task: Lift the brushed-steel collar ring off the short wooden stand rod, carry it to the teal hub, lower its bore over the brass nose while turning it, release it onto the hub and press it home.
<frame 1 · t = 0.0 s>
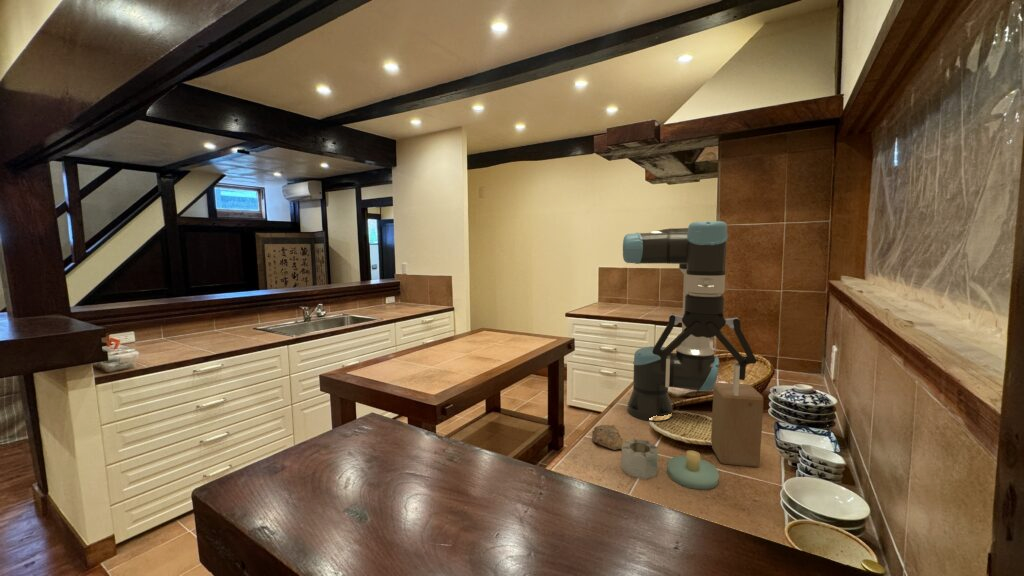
hand: (700, 389, 87), 28 cm above the table, fingers open, 13 cm apart
collar ring: (639, 468, 106), on the table
rock: (608, 444, 120), on the table
hub: (692, 475, 103), on the table
stand: (639, 468, 106), on the table
wooden block: (733, 457, 111), on the table
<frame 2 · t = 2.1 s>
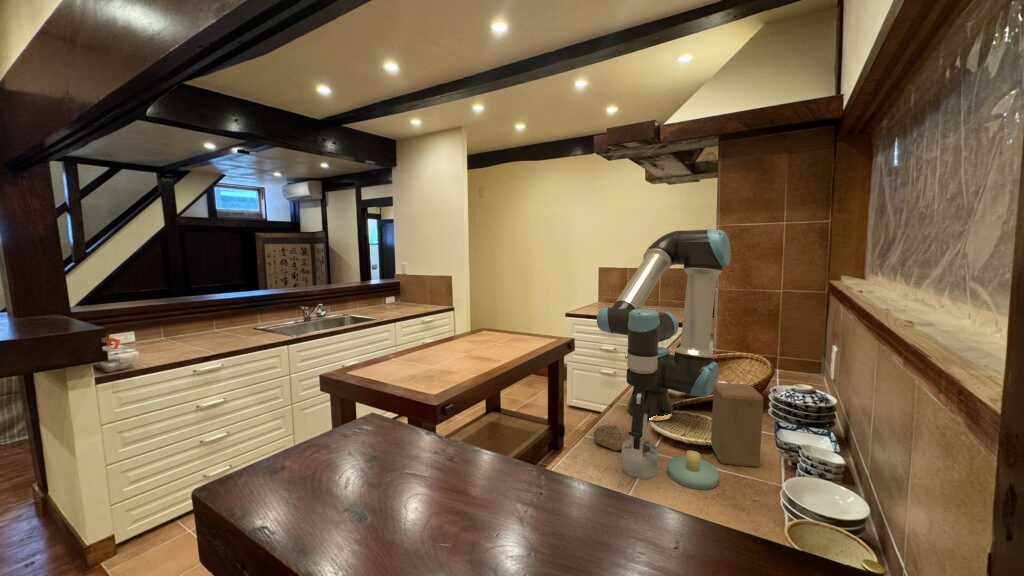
hand: (639, 447, 105), 6 cm above the table, fingers open, 13 cm apart
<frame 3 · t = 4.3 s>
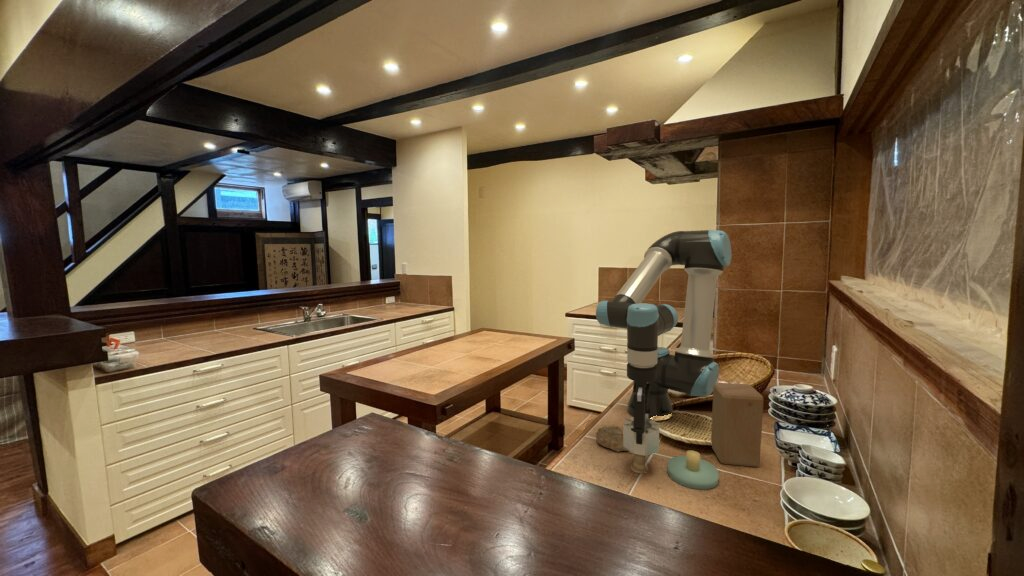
hand: (641, 444, 106), 7 cm above the table, fingers closed on collar ring, 9 cm apart
collar ring: (641, 445, 106), point 6 cm above the table, touching gripper
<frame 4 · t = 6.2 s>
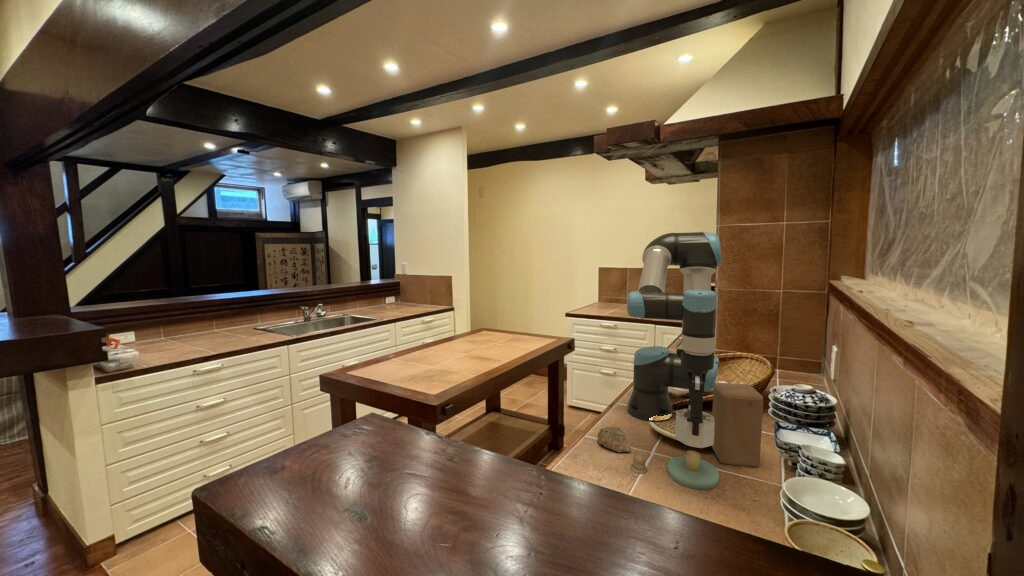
hand: (693, 437, 101), 10 cm above the table, fingers closed on collar ring, 9 cm apart
collar ring: (693, 438, 101), point 10 cm above the table, touching gripper
when the fingers open (3 cm above the table, at t = 8.1 s): collar ring stays where it is, resting on hub.
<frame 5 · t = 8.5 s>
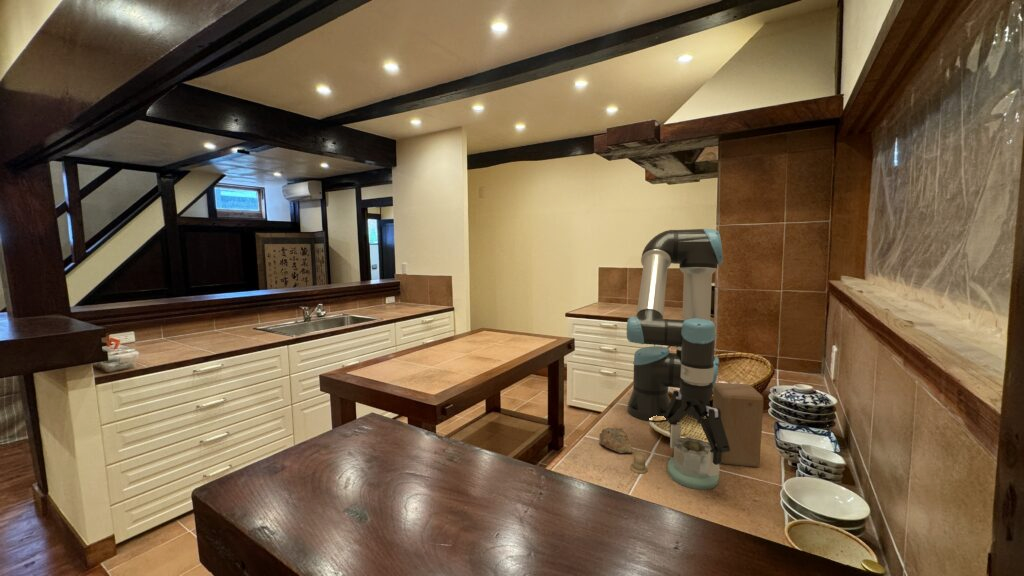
hand: (692, 460, 102), 4 cm above the table, fingers open, 13 cm apart
collar ring: (692, 468, 102), point 2 cm above the table, touching hub
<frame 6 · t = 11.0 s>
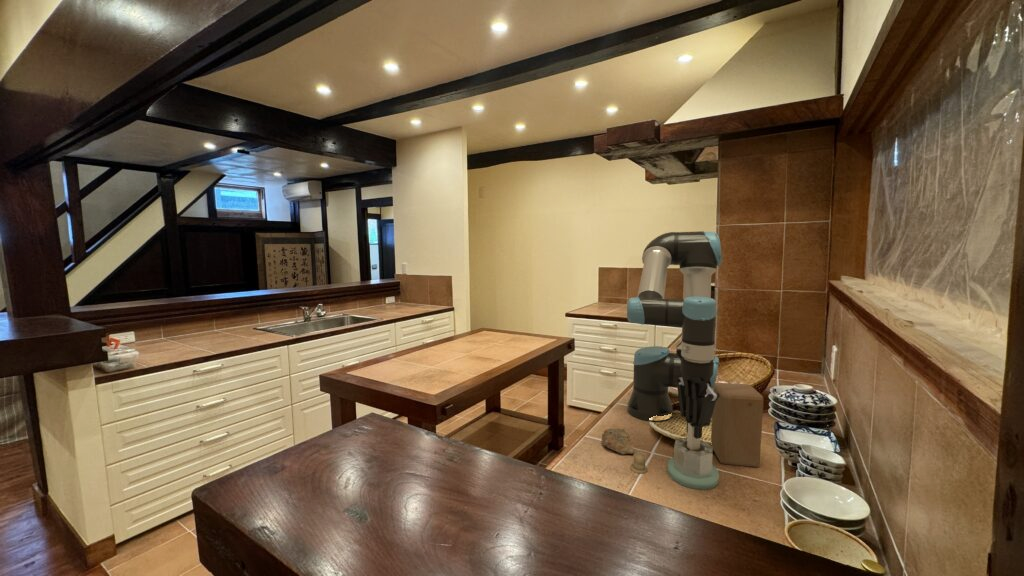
hand: (693, 447, 102), 8 cm above the table, fingers closed
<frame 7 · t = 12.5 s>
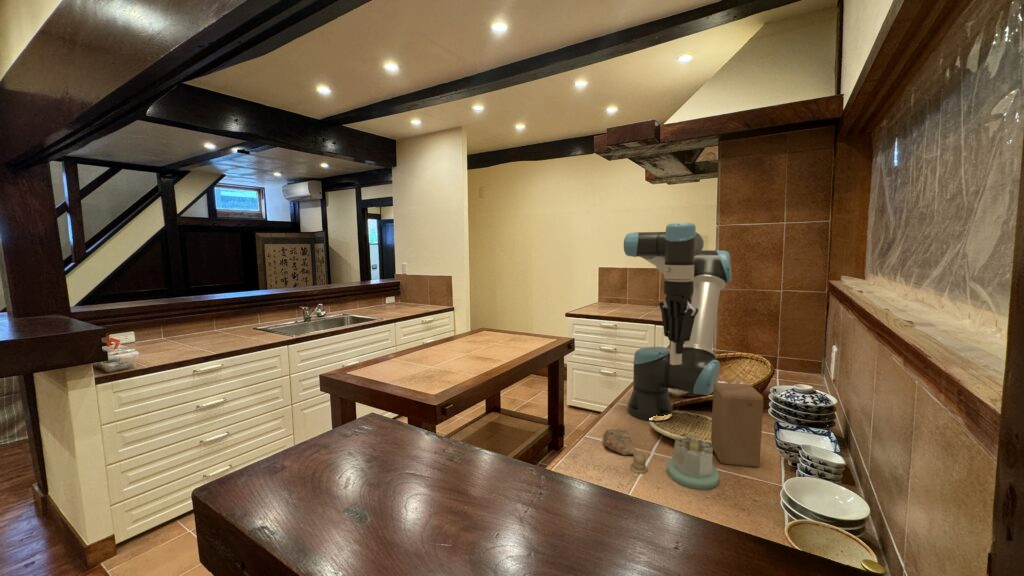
hand: (675, 363, 111), 26 cm above the table, fingers closed
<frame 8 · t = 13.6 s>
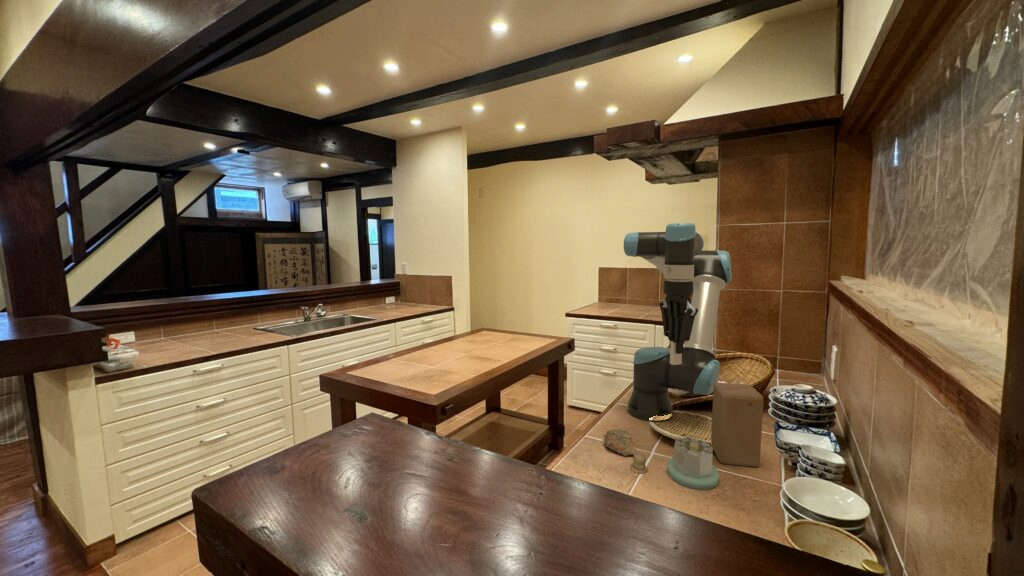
hand: (675, 363, 111), 26 cm above the table, fingers closed
at the end: collar ring 0.0 cm off-centre on the hub, point 2.0 cm above the hub's base; collar ring tilted 0°; the gripper is holding nothing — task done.
